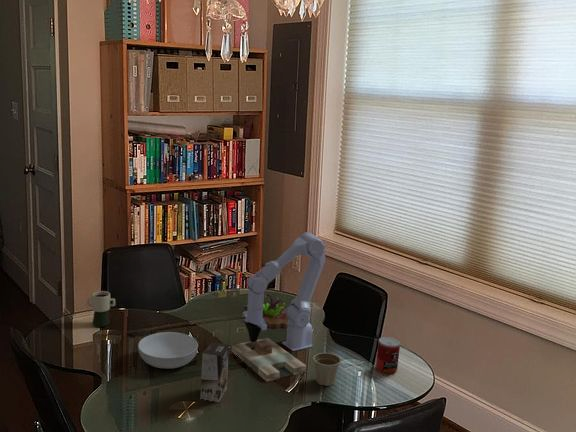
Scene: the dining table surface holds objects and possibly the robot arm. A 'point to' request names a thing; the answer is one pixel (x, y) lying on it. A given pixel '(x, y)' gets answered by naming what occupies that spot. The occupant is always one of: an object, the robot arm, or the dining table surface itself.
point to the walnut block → (263, 347)
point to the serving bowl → (168, 349)
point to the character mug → (100, 307)
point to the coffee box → (214, 371)
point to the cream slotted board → (269, 361)
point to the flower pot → (326, 368)
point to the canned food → (387, 355)
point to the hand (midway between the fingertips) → (253, 341)
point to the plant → (275, 314)
